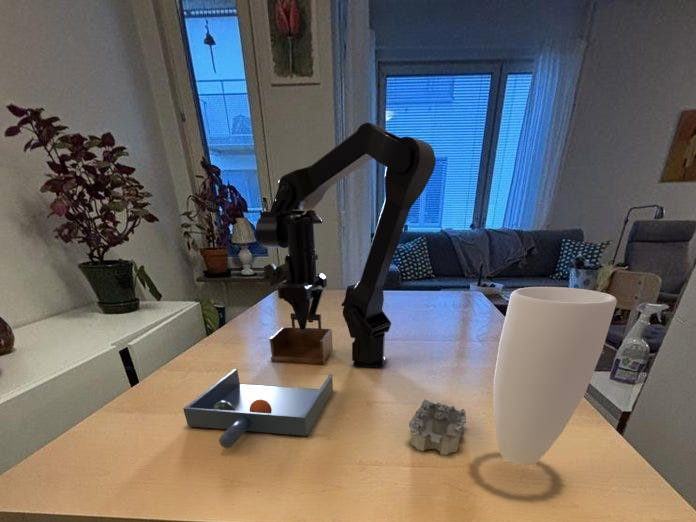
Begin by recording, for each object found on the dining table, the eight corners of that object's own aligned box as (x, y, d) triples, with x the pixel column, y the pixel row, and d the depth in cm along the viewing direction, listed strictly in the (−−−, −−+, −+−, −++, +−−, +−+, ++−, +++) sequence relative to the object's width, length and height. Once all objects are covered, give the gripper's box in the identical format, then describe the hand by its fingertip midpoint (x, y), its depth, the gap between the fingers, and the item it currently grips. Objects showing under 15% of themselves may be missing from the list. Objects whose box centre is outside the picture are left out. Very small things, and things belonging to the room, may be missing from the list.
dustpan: (237, 385, 77) (234, 368, 75) (333, 391, 75) (332, 374, 73) (162, 449, 56) (156, 429, 54) (292, 461, 54) (290, 440, 52)
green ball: (231, 397, 61) (226, 417, 60) (240, 408, 64) (235, 426, 63) (211, 396, 61) (205, 415, 60) (220, 406, 65) (215, 425, 64)
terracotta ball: (277, 402, 64) (268, 405, 60) (272, 422, 65) (262, 425, 62) (258, 394, 64) (248, 397, 61) (253, 414, 65) (243, 417, 62)
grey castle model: (455, 458, 55) (459, 432, 52) (403, 448, 57) (405, 423, 54) (467, 426, 63) (471, 402, 60) (421, 418, 65) (423, 395, 63)
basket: (333, 349, 96) (331, 314, 91) (323, 364, 87) (320, 326, 83) (285, 347, 97) (281, 312, 92) (271, 361, 89) (266, 324, 84)
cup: (466, 453, 56) (496, 285, 43) (540, 455, 55) (592, 286, 43) (482, 498, 47) (526, 303, 35) (570, 500, 47) (646, 305, 34)
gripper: (279, 245, 93) (286, 315, 101) (248, 252, 77) (259, 334, 86) (325, 246, 91) (328, 317, 100) (303, 253, 76) (308, 336, 85)
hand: (306, 325), depth 93 cm, fingers open, 6 cm apart
